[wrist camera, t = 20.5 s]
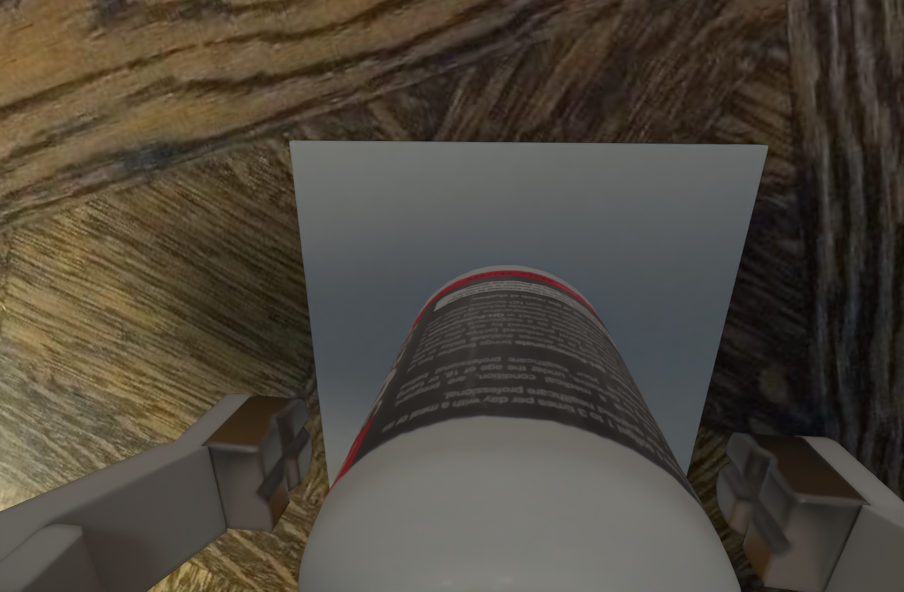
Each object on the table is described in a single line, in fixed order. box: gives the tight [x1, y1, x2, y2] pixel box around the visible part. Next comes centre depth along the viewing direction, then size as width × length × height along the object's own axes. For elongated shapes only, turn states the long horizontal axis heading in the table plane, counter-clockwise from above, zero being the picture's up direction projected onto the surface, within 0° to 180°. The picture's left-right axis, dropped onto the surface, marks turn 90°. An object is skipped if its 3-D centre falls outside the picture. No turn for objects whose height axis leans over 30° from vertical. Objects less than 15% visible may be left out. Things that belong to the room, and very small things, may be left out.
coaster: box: [290, 140, 768, 489], centre depth 12 cm, size 11×11×1 cm
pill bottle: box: [298, 265, 741, 592], centre depth 7 cm, size 5×5×10 cm
